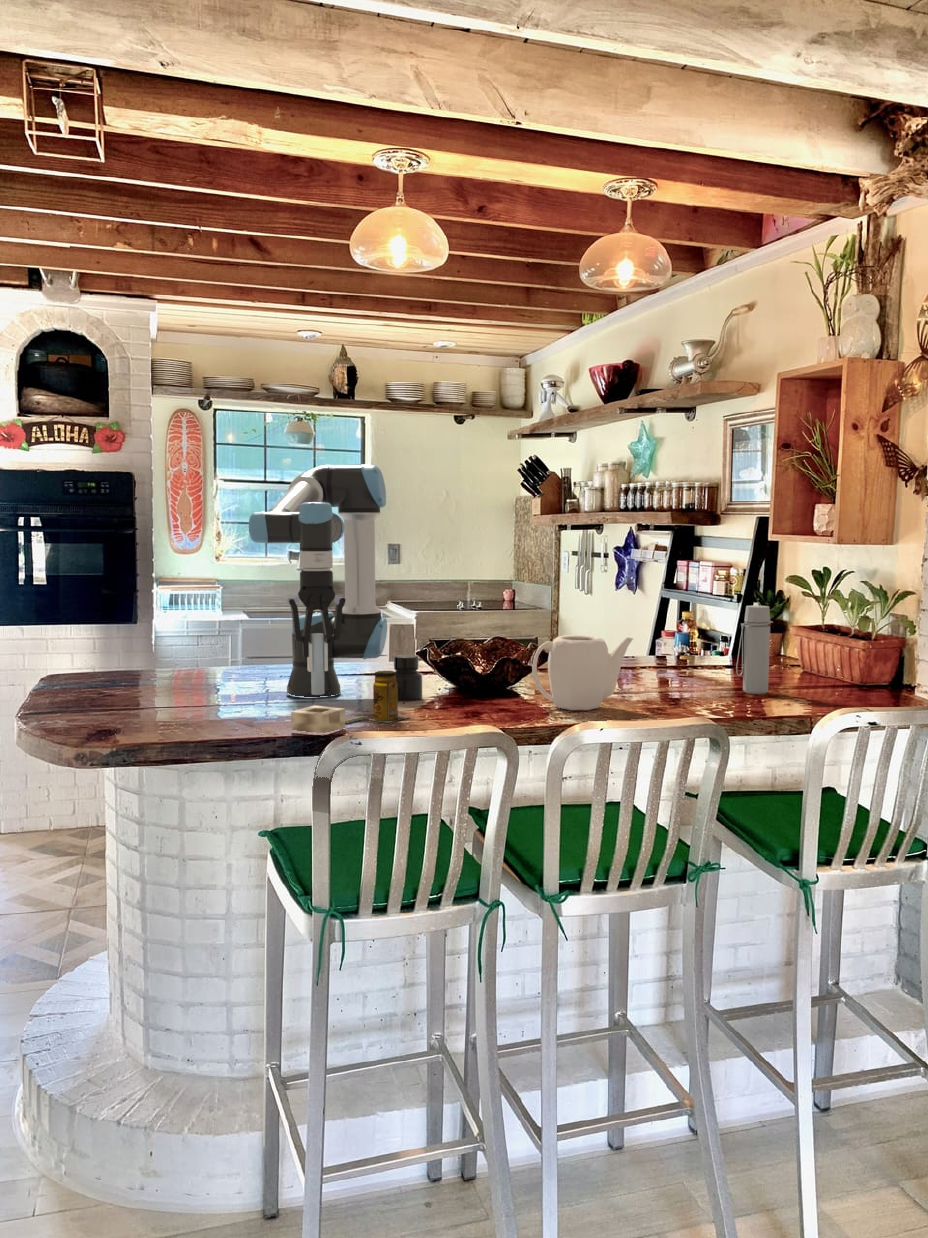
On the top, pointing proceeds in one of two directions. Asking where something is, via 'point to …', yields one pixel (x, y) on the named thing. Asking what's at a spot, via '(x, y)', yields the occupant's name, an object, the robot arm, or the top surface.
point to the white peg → (317, 664)
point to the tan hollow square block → (318, 719)
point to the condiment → (385, 697)
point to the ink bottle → (408, 677)
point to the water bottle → (755, 649)
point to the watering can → (580, 671)
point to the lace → (355, 719)
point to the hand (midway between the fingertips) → (317, 670)
